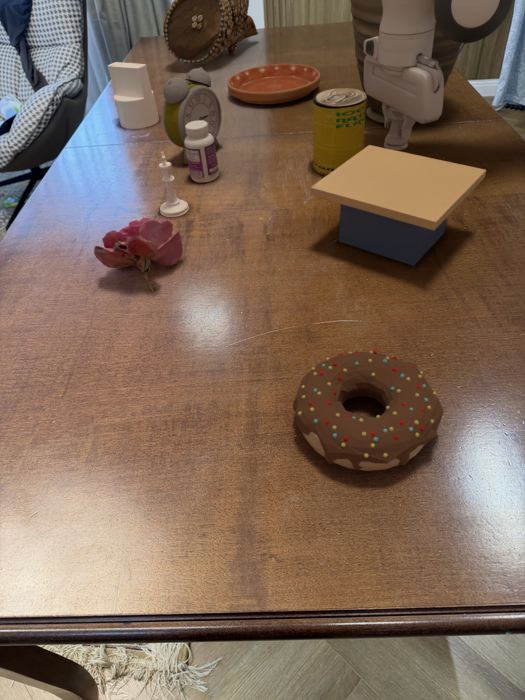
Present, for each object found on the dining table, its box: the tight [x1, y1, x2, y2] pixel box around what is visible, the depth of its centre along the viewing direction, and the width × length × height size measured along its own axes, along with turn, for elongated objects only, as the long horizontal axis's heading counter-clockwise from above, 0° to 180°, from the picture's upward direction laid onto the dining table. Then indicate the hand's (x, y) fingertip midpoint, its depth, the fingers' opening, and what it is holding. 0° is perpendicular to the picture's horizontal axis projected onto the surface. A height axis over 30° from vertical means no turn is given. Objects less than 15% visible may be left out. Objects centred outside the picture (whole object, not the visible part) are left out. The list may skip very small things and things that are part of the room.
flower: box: [93, 217, 184, 292], centre depth 71 cm, size 11×10×10 cm
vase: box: [350, 0, 463, 124], centre depth 101 cm, size 25×24×30 cm
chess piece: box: [158, 150, 190, 218], centre depth 83 cm, size 5×5×10 cm
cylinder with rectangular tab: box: [107, 61, 160, 130], centre depth 114 cm, size 9×9×12 cm
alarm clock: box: [162, 66, 222, 165], centre depth 97 cm, size 12×7×15 cm, turn 143°
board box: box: [310, 144, 487, 267], centre depth 72 cm, size 18×16×9 cm
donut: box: [292, 350, 444, 472], centre depth 49 cm, size 14×14×5 cm
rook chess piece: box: [383, 108, 409, 152], centre depth 93 cm, size 4×4×8 cm
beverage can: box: [312, 87, 367, 176], centre depth 89 cm, size 9×9×12 cm
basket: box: [162, 0, 260, 66], centre depth 149 cm, size 24×22×35 cm
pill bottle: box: [184, 120, 220, 184], centre depth 91 cm, size 5×5×10 cm
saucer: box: [226, 63, 321, 105], centre depth 125 cm, size 23×23×4 cm
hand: (397, 132), depth 94 cm, fingers closed on rook chess piece, 3 cm apart
